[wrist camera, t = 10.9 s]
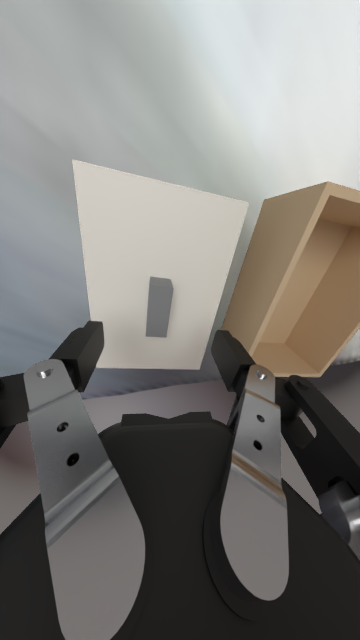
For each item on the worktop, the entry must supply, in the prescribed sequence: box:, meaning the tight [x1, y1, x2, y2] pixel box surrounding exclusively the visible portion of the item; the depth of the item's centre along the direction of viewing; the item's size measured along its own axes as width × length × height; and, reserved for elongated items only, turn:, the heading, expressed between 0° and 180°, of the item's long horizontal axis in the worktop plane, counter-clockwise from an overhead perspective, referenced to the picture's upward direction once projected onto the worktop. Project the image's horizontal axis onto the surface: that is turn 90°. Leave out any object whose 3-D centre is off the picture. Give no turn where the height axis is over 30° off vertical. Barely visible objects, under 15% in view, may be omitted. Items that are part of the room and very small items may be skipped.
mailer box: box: [221, 182, 360, 377], centre depth 19 cm, size 12×18×7 cm, turn 171°
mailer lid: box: [72, 159, 249, 370], centre depth 17 cm, size 14×20×6 cm
